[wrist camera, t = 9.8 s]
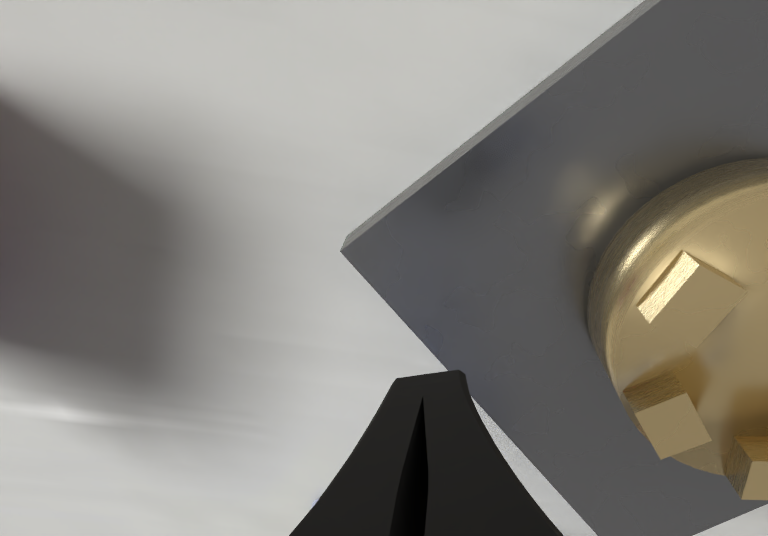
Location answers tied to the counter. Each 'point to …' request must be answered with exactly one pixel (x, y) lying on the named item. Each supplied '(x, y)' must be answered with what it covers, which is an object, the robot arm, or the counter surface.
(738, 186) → the tan round handled piece
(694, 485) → the plate
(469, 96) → the counter surface
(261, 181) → the counter surface
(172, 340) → the counter surface
